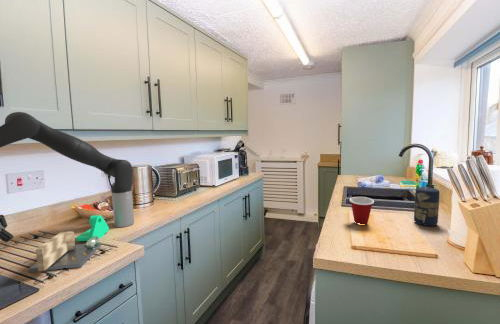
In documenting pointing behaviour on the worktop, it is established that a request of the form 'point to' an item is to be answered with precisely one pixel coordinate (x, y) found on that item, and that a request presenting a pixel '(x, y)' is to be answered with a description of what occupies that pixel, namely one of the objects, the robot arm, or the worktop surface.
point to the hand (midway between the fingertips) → (10, 239)
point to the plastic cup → (361, 209)
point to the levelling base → (73, 256)
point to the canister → (426, 206)
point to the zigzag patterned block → (54, 249)
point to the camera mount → (94, 228)
